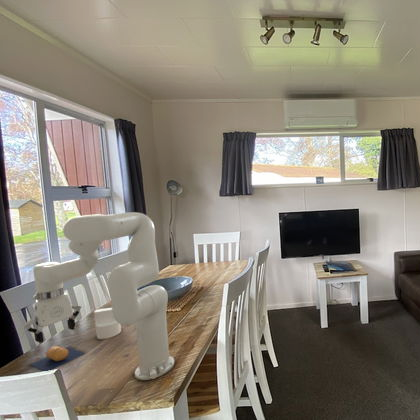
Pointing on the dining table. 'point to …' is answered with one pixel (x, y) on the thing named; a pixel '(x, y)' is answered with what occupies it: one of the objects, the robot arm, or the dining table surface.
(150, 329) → the robot arm
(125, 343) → the dining table surface
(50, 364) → the napkin
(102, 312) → the base with upright slab
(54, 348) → the bread roll
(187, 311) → the dining table surface
